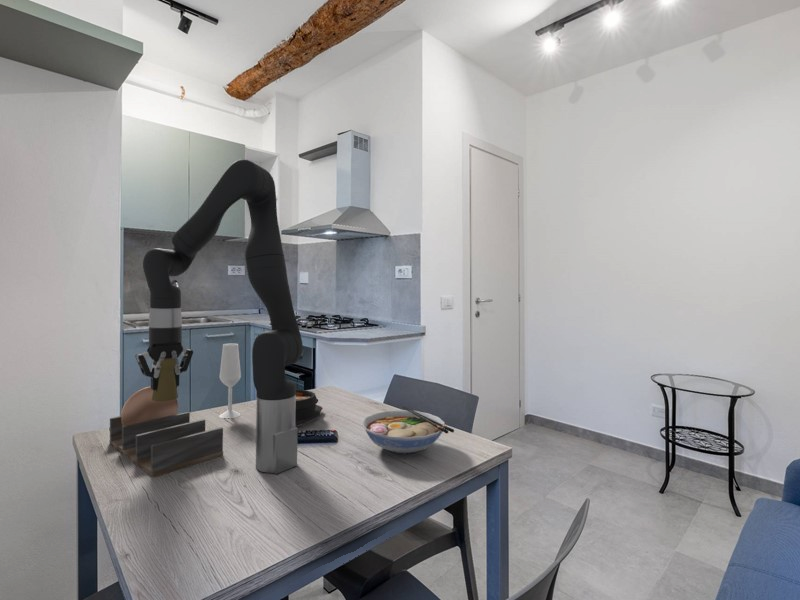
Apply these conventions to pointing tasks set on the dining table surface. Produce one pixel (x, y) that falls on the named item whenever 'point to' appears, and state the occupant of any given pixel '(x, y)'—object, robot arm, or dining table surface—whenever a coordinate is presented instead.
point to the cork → (166, 381)
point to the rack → (162, 435)
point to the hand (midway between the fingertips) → (165, 389)
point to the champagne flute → (230, 374)
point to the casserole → (306, 407)
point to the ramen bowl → (404, 430)
